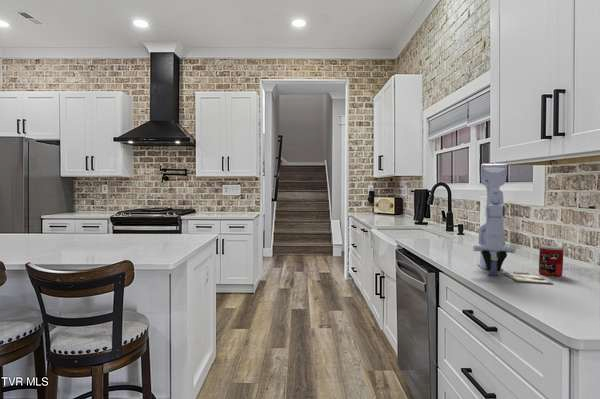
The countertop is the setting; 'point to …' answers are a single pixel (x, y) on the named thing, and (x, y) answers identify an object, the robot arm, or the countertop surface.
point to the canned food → (551, 260)
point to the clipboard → (527, 278)
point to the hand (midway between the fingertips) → (493, 270)
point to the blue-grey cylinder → (493, 266)
